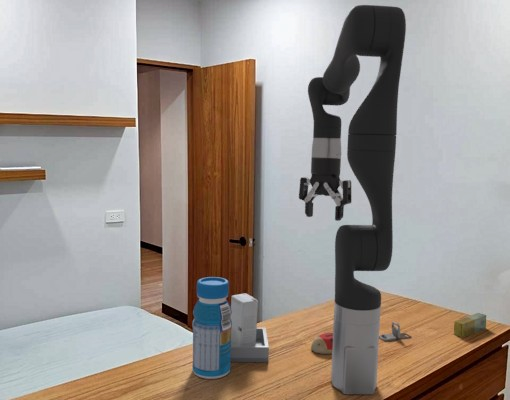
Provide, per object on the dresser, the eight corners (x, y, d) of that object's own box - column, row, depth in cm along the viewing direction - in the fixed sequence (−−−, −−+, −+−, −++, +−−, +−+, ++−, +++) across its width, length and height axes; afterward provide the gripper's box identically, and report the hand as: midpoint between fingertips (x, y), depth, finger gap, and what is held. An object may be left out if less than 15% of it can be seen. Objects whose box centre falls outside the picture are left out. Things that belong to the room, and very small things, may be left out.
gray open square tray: (268, 362, 111) (268, 347, 110) (215, 361, 110) (215, 346, 110) (265, 341, 123) (265, 327, 122) (217, 340, 122) (217, 327, 122)
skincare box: (228, 344, 118) (229, 295, 116) (244, 340, 120) (245, 292, 119) (240, 353, 112) (241, 302, 111) (257, 349, 115) (258, 299, 113)
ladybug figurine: (304, 348, 119) (305, 334, 119) (335, 340, 125) (335, 327, 124) (322, 358, 114) (323, 344, 113) (353, 350, 119) (354, 336, 119)
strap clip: (384, 343, 124) (385, 326, 124) (377, 338, 127) (378, 322, 126) (412, 339, 127) (413, 323, 127) (404, 334, 130) (405, 319, 129)
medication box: (477, 326, 137) (477, 312, 137) (486, 329, 135) (487, 314, 135) (453, 335, 130) (453, 320, 130) (462, 338, 128) (463, 323, 128)
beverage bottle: (195, 382, 100) (196, 287, 98) (188, 364, 108) (189, 276, 106) (235, 378, 103) (237, 285, 100) (226, 360, 111) (227, 274, 109)
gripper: (294, 155, 127) (292, 217, 129) (344, 157, 119) (341, 223, 121) (310, 155, 133) (307, 214, 135) (358, 157, 125) (355, 220, 126)
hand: (323, 218), depth 128 cm, fingers open, 8 cm apart
